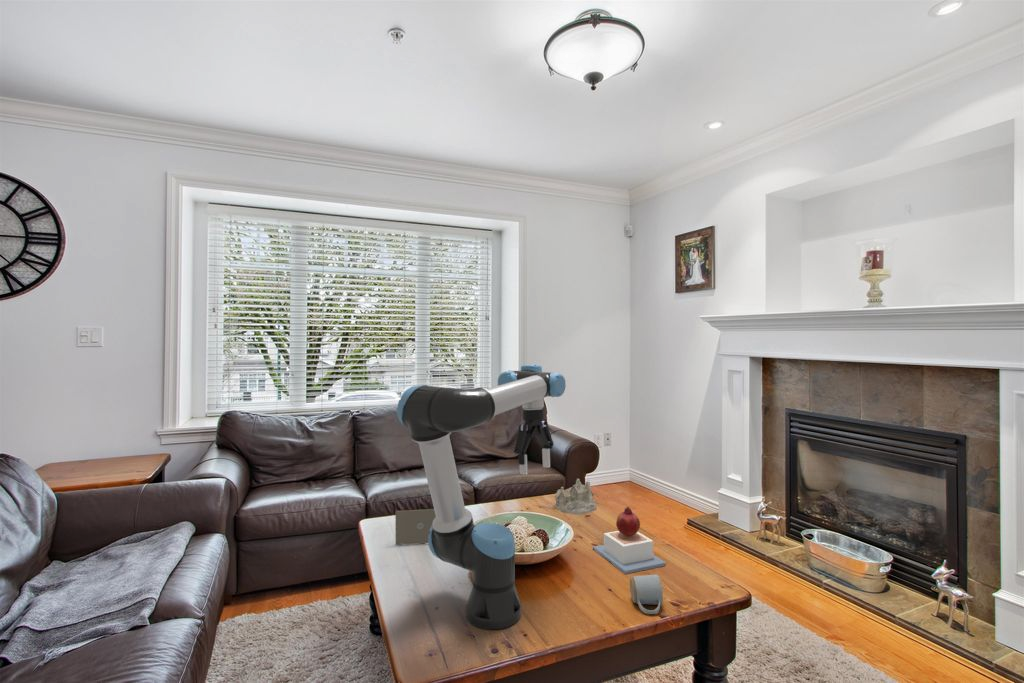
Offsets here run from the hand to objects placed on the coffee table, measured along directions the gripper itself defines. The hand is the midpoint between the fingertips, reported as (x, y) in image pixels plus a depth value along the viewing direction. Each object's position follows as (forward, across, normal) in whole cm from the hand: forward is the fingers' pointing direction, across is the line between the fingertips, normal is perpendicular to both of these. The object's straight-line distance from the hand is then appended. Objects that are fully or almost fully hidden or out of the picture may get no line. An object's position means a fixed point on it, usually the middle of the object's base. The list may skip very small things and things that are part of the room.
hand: (535, 470), depth 173 cm
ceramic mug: (+34, +4, +41) cm, 53 cm away
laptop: (+28, +12, -47) cm, 56 cm away
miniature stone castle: (+27, -53, -17) cm, 62 cm away
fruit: (+24, -21, +23) cm, 39 cm away
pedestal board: (+31, -21, +23) cm, 44 cm away
